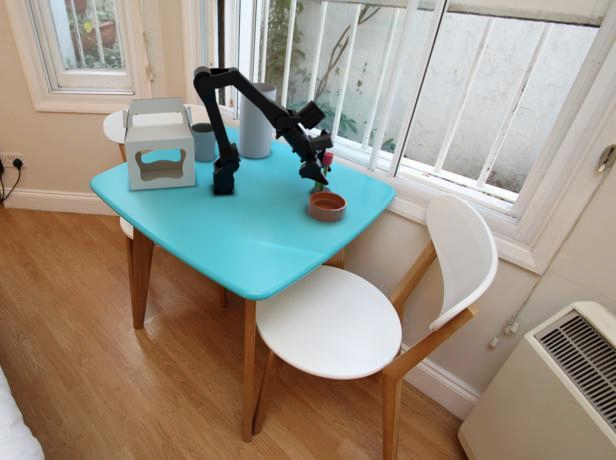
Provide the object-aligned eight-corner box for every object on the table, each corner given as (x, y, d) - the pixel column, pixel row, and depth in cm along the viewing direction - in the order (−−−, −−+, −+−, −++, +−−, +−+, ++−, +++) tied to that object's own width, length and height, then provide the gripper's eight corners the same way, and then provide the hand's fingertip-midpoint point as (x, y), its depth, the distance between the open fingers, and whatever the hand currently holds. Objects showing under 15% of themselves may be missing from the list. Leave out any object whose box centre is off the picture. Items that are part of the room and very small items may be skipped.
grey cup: (200, 149, 152) (200, 120, 145) (222, 155, 147) (222, 125, 140) (185, 158, 145) (184, 128, 138) (207, 165, 140) (207, 134, 133)
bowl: (313, 224, 109) (316, 211, 106) (302, 204, 117) (304, 192, 114) (349, 222, 109) (352, 209, 106) (335, 203, 118) (338, 190, 115)
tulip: (330, 191, 123) (339, 151, 115) (328, 199, 119) (337, 159, 111) (312, 188, 125) (320, 149, 117) (310, 196, 121) (318, 156, 113)
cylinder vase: (272, 159, 143) (279, 92, 129) (239, 159, 144) (242, 93, 129) (267, 145, 153) (273, 82, 139) (236, 146, 154) (239, 82, 139)
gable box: (192, 168, 139) (189, 90, 122) (195, 186, 128) (193, 103, 112) (131, 172, 137) (120, 94, 120) (130, 190, 126) (118, 107, 110)
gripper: (317, 136, 103) (350, 178, 106) (324, 113, 117) (353, 151, 120) (284, 158, 110) (317, 197, 113) (295, 134, 124) (323, 170, 127)
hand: (329, 177), depth 118 cm, fingers open, 9 cm apart
